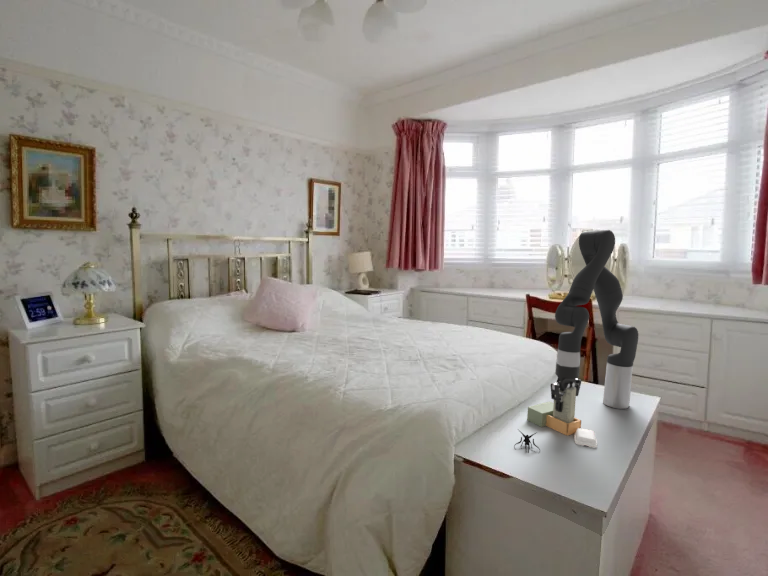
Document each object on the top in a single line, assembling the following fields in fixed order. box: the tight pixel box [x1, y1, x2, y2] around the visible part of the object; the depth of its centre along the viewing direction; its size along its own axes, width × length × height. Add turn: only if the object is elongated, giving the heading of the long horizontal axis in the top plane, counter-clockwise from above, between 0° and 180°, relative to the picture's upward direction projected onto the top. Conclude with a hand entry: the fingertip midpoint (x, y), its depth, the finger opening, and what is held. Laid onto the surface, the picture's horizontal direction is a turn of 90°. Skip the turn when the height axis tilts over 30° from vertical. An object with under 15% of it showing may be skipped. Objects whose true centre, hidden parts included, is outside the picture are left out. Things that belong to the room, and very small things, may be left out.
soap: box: [573, 427, 598, 449], centre depth 141 cm, size 9×7×3 cm
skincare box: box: [553, 388, 577, 423], centre depth 148 cm, size 6×4×12 cm
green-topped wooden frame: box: [526, 401, 582, 437], centre depth 151 cm, size 12×15×5 cm
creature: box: [513, 429, 541, 454], centre depth 133 cm, size 8×5×8 cm
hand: (563, 409), depth 149 cm, fingers closed on skincare box, 5 cm apart
